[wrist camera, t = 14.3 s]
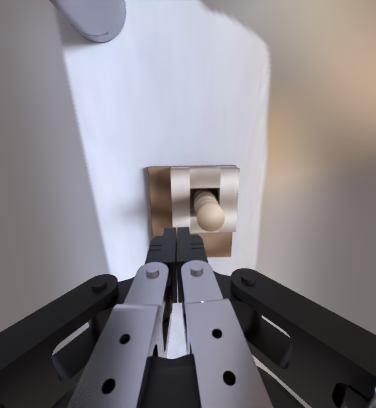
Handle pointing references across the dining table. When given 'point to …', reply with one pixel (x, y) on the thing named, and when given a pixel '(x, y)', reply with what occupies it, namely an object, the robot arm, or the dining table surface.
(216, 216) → the peg
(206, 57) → the dining table surface
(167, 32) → the dining table surface
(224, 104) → the dining table surface
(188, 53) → the dining table surface
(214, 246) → the socket board
